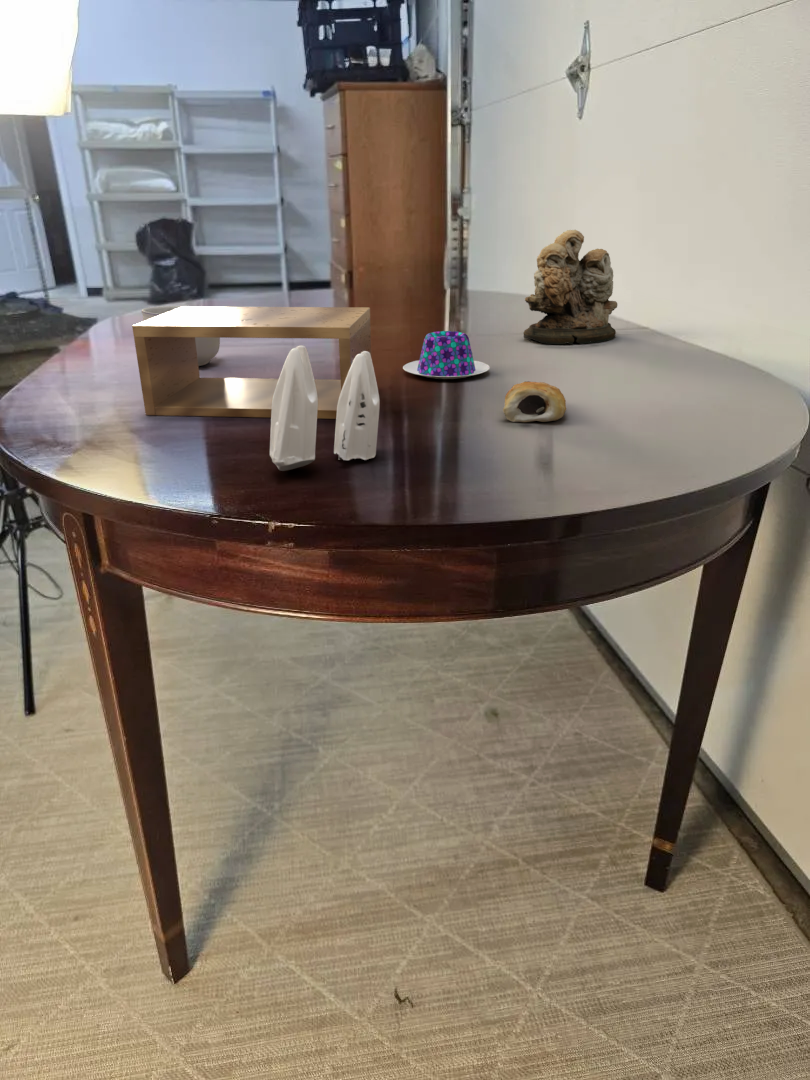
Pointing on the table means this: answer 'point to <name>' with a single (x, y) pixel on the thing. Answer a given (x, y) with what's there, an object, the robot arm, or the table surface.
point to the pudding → (446, 357)
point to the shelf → (173, 347)
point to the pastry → (534, 402)
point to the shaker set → (299, 412)
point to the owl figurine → (572, 293)
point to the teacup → (204, 345)
